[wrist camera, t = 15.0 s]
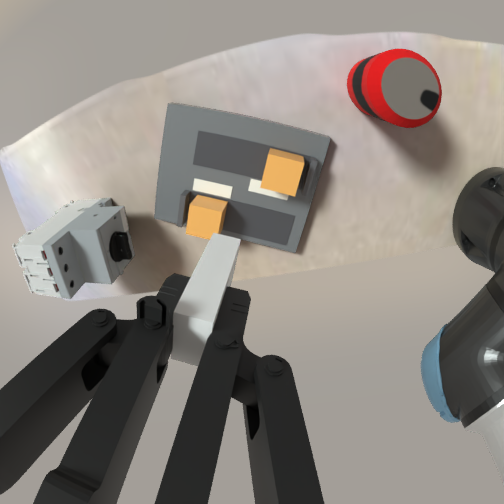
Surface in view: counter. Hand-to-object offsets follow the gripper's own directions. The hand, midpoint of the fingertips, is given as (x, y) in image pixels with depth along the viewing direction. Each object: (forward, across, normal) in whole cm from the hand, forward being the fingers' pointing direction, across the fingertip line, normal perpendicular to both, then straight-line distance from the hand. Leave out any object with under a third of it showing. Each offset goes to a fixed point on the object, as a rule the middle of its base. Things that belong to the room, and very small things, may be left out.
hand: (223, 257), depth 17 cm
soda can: (+25, -11, -13) cm, 30 cm away
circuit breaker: (+25, +21, +14) cm, 35 cm away
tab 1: (+23, +5, +8) cm, 25 cm away
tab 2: (+23, -3, 0) cm, 23 cm away
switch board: (+24, +3, +3) cm, 25 cm away
